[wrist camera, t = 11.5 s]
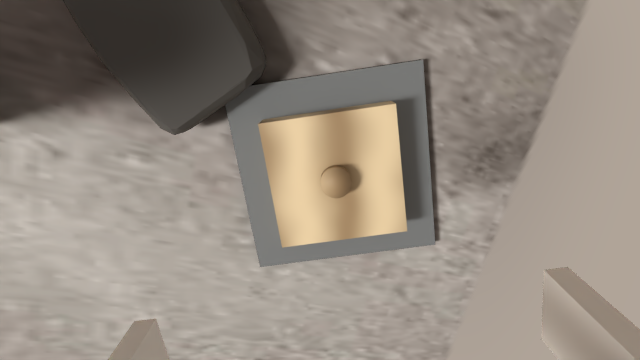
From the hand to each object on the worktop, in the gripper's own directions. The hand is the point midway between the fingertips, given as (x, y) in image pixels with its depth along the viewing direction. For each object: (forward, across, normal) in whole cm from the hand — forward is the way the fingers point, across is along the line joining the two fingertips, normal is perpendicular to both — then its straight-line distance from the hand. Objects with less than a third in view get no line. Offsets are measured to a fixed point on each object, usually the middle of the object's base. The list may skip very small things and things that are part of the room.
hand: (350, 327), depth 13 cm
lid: (+20, 0, -1) cm, 20 cm away
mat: (+21, 0, -1) cm, 21 cm away
